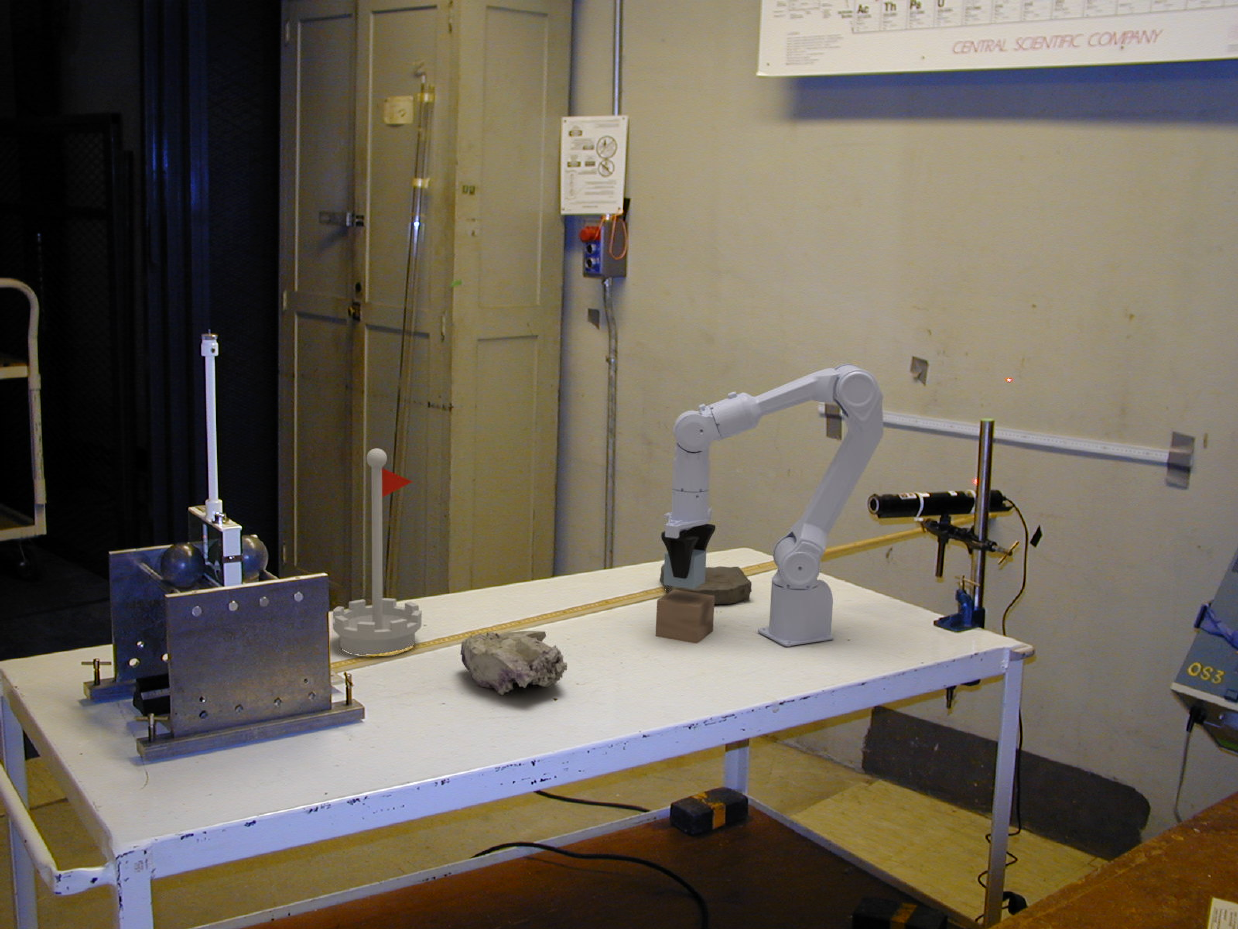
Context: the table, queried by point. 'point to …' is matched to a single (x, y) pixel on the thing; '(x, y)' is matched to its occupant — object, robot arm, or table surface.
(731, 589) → the flat brown rock
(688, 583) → the slate cube
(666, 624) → the wood grain block
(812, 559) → the robot arm
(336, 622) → the flag stand
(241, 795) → the table surface
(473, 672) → the geode
